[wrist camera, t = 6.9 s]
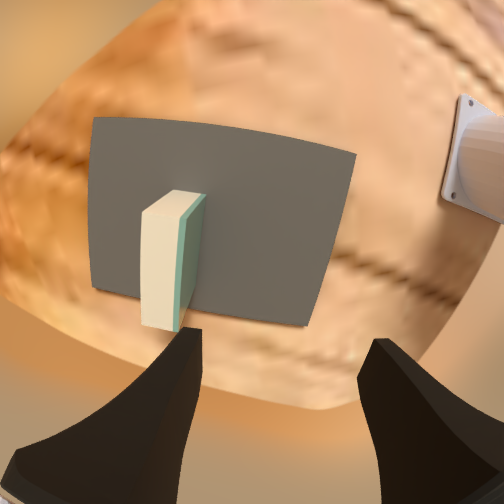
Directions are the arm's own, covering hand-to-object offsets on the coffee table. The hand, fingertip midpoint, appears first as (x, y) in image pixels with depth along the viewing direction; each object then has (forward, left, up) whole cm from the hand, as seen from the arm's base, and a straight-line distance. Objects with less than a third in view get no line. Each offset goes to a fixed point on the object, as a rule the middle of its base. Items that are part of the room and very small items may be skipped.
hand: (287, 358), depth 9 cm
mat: (+5, -1, -9) cm, 10 cm away
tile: (+6, 0, -9) cm, 11 cm away
